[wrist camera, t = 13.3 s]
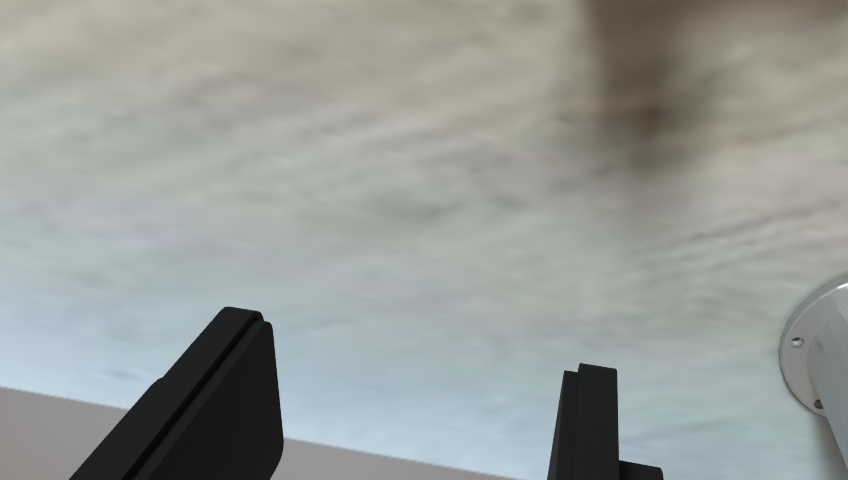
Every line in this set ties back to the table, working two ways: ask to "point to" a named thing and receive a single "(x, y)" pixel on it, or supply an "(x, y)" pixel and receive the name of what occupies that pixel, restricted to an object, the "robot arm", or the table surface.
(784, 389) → the table surface
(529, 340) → the table surface
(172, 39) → the table surface
